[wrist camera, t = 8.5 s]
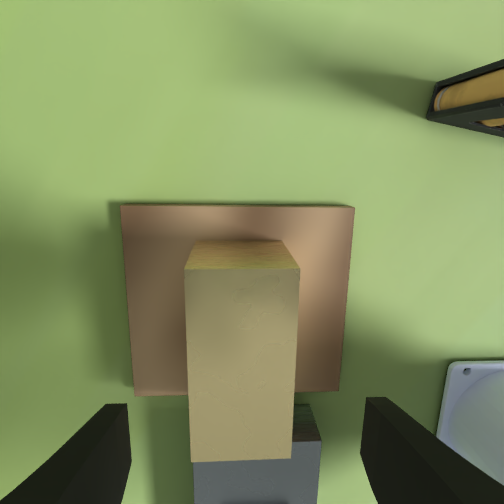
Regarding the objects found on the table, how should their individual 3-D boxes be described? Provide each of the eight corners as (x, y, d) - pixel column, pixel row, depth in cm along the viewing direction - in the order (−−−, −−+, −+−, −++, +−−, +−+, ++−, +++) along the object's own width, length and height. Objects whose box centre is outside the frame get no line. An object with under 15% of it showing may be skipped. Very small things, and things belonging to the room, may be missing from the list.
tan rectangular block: (282, 240, 19) (300, 268, 14) (276, 389, 21) (291, 458, 16) (195, 240, 18) (183, 269, 13) (200, 391, 20) (190, 462, 16)
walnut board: (349, 205, 19) (355, 207, 18) (334, 382, 22) (338, 391, 21) (124, 203, 18) (119, 205, 18) (138, 387, 21) (134, 396, 20)
